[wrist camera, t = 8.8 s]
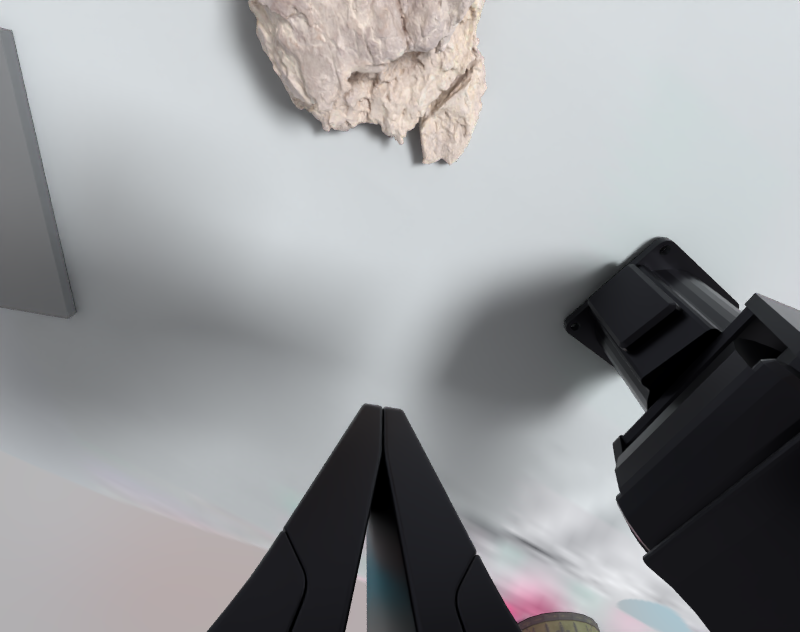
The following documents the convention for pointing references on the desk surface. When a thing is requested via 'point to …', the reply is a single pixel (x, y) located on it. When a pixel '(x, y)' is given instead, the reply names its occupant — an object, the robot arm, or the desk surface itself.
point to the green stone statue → (559, 623)
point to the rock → (381, 65)
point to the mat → (26, 206)
